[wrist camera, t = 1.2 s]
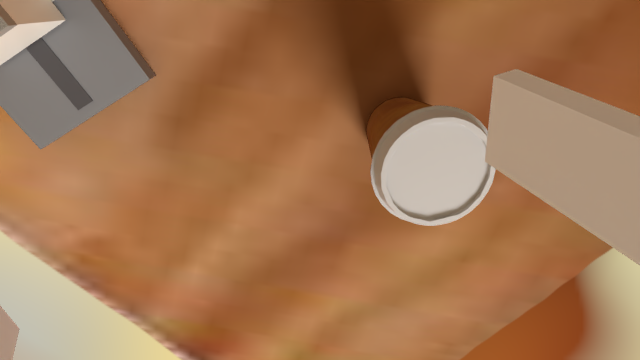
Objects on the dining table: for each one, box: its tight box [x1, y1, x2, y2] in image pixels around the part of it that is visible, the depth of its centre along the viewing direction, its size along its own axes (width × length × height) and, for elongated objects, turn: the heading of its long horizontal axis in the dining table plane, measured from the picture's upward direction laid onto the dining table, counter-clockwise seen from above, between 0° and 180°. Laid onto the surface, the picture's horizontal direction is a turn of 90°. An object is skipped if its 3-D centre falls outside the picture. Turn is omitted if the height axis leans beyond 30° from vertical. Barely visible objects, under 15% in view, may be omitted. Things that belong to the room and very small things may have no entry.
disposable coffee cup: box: [367, 97, 495, 226], centre depth 37 cm, size 10×10×12 cm
